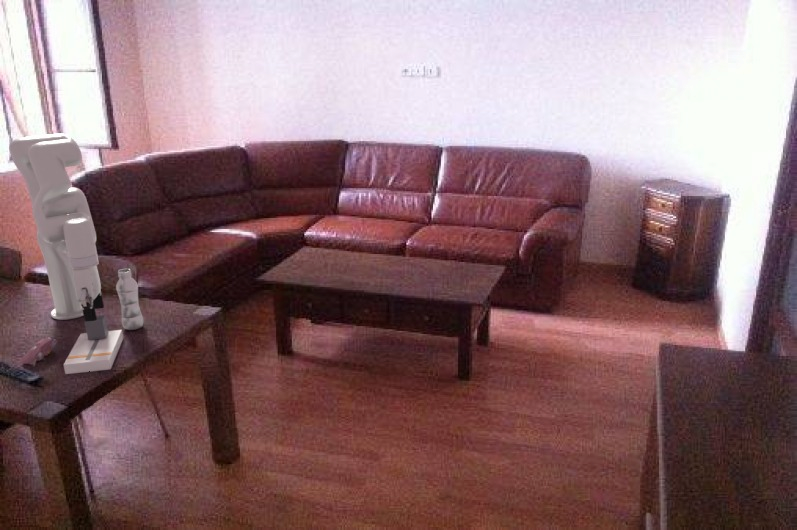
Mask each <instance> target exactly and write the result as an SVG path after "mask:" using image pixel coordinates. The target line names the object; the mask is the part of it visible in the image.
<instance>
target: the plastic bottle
mask: <svg viewBox="0 0 797 530" xmlns="http://www.w3.org/2000/svg"><path fill="white" fill-rule="evenodd" d="M117 273H118V275H117V277H118V278H119V279H118V281H117V283H116V285H115V290H116V293H117V295H118V298H119V303H120V307H121V308H120V309H121V324H122V328H124V329H125V330H126V331H135V330H138V329H141V328H142V327H143V324H144V317H143V315H142V311H141V307H140V304H139V285H138V282H137V281H136V280H135V279H134V278H133V277H132V271H131V269H130V268H122V269H119V270H118V271H117Z"/></svg>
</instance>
